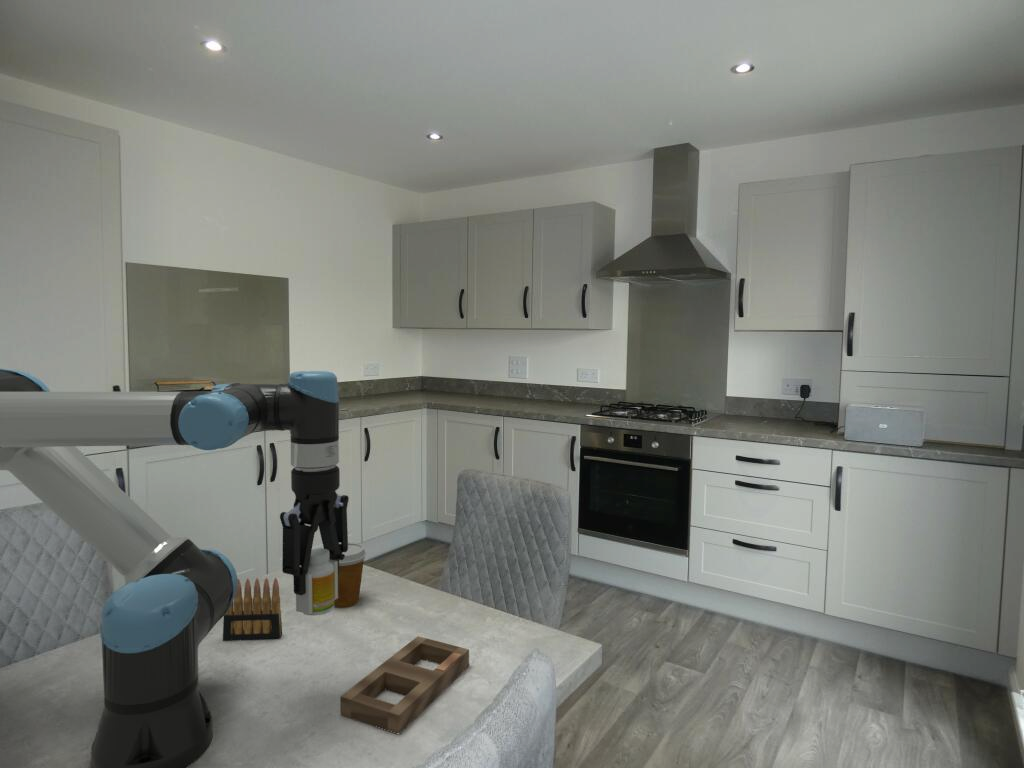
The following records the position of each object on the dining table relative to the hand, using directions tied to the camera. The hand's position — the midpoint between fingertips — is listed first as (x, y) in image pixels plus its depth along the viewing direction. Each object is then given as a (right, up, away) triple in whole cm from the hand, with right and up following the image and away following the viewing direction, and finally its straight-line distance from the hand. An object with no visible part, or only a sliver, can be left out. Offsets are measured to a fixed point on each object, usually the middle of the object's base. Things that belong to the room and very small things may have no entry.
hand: (317, 604), depth 104 cm
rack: (+15, -15, +2) cm, 21 cm away
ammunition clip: (-18, -13, +19) cm, 29 cm away
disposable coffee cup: (-5, -12, +36) cm, 38 cm away
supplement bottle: (0, -1, 0) cm, 1 cm away
